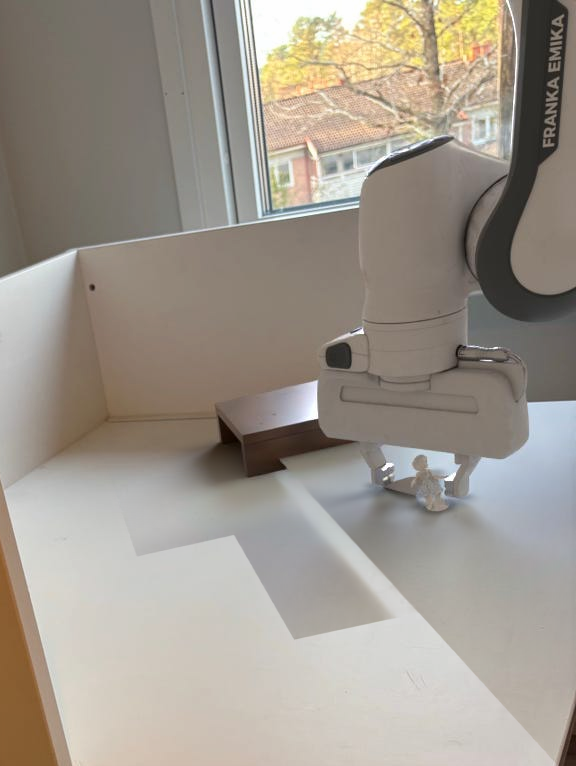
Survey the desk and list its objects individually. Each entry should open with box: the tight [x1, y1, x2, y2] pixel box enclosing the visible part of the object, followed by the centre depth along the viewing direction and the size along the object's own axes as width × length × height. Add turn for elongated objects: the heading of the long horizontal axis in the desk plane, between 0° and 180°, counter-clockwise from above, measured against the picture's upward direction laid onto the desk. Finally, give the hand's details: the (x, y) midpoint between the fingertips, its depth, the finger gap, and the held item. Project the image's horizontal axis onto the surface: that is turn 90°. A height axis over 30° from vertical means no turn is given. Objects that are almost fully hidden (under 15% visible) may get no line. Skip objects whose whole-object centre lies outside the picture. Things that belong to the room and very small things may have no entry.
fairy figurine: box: [382, 453, 451, 512], centre depth 92 cm, size 6×7×7 cm
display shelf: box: [214, 379, 358, 478], centre depth 115 cm, size 15×15×5 cm
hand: (418, 489), depth 92 cm, fingers closed on fairy figurine, 6 cm apart
